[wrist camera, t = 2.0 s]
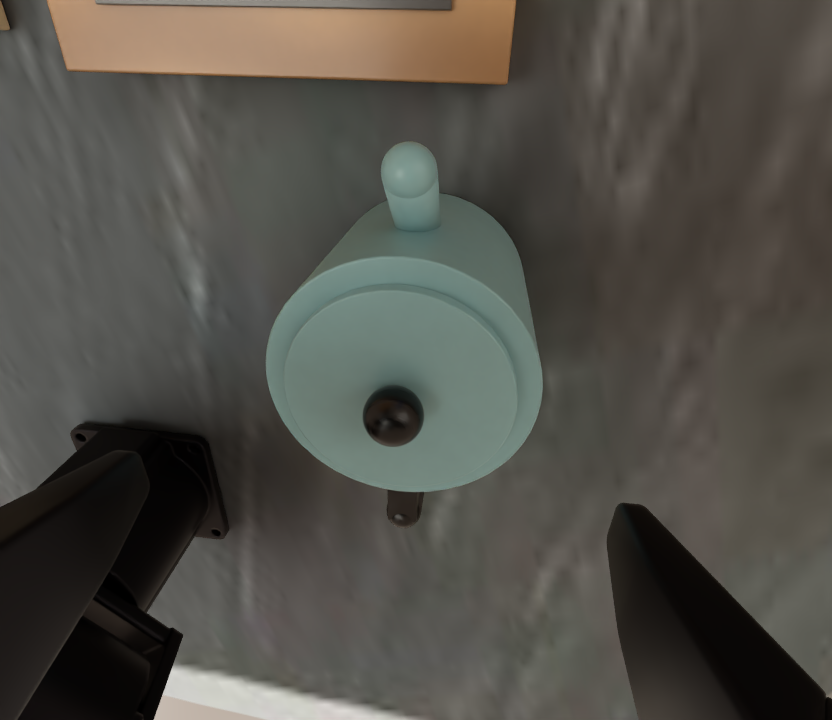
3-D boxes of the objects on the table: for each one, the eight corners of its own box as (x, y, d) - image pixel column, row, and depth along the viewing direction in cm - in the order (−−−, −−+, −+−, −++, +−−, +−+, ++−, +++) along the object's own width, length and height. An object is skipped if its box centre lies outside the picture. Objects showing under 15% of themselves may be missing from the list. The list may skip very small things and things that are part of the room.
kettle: (504, 428, 20) (513, 618, 13) (342, 412, 21) (270, 585, 14) (548, 123, 14) (608, 172, 7) (323, 115, 15) (182, 152, 8)
